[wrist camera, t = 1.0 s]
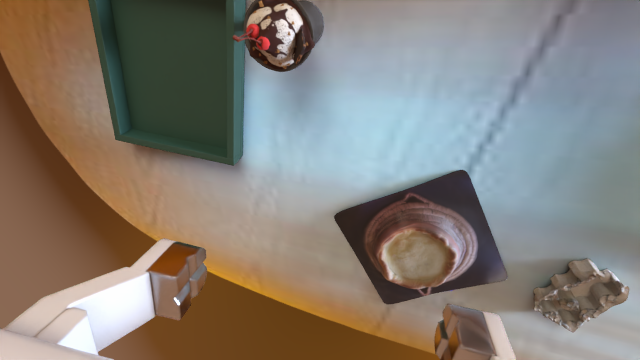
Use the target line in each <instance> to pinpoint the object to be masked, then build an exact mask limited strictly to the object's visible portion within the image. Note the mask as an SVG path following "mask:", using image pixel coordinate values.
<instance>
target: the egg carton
mask: <svg viewBox="0 0 640 360" xmlns="http://www.w3.org/2000/svg"><path fill="white" fill-rule="evenodd" d="M568 266H569V267H570V270H569V271H568V272H567V273H566V274H561V275H557V274H554V276H553V277H551V278H550V280H551V281H552V283H551V285H550V286H548V287H546V288H540V287H537V288H536V289H534V291H533V292H534V293H535V297H534V300H535V305H536V306H535V308H533V309H534V310H535V311H539V312H540V313H542V314H543V316H545V317H548V318H549V319H551V320H552V321H554V322H555V323H557V324H558V325H562V326H563V327H565V328H566V329H568V330H569V331H571V332H575V331H576V329H577V328H578V327H580V326H581V325H582V324H583V322H585V321H589V319H590V318H597V317H598V316H599V315H600V314H601V313H603V312H605V311H607V310H608V309H609V308H610V307H612V306H615V305H618V304H621V303H623V302H624V301H626V299H627V298H628V293H629V287H628V286H623V284H622V283H621V282H620V281H619V280H618V278H617V277H616V276H615V275H614V273H613V272H611V271H610V270H608V269H605V270H603V271H599V270H598V268H597V267H596V265H595V264H594V263H593V262H592V261H591V260H589V259H584V260H582V261H572V262H570V263H569V264H568Z"/></svg>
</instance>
